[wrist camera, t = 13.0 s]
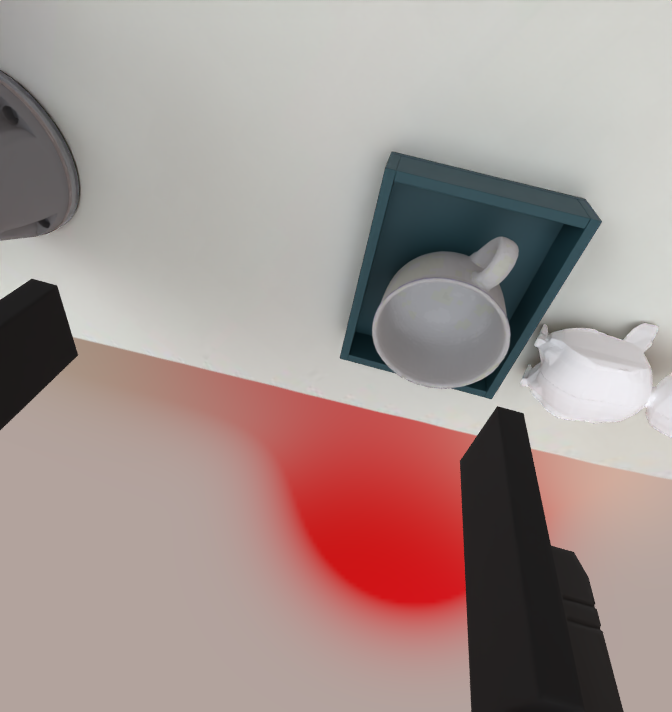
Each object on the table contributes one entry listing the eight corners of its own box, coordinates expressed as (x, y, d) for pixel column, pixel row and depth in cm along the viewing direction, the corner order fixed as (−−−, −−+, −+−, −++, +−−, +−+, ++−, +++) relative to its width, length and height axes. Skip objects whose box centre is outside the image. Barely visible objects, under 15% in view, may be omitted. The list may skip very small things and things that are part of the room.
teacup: (437, 353, 44) (436, 408, 38) (359, 290, 41) (344, 339, 35) (559, 266, 36) (582, 318, 30) (471, 179, 33) (477, 217, 27)
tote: (347, 332, 45) (339, 358, 42) (391, 151, 33) (385, 167, 30) (488, 369, 45) (491, 399, 41) (585, 198, 32) (602, 221, 29)
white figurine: (530, 362, 47) (691, 416, 40) (508, 409, 41) (691, 481, 35) (555, 296, 41) (745, 347, 35) (534, 341, 36) (756, 410, 29)
